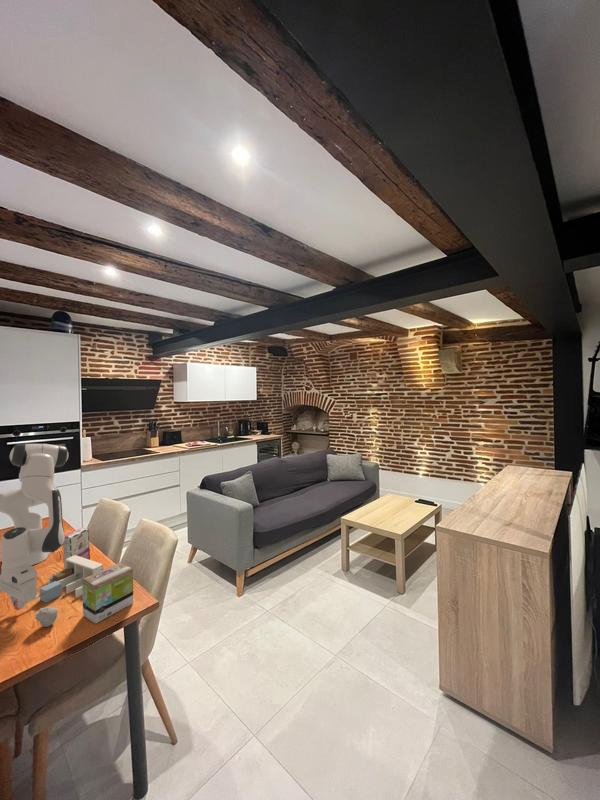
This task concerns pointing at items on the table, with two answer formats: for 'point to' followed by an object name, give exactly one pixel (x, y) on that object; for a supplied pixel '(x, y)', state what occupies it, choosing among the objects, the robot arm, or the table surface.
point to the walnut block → (62, 575)
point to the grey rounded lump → (46, 616)
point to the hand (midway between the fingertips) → (18, 606)
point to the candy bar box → (76, 544)
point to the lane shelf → (78, 573)
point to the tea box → (107, 592)
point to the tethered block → (47, 593)
